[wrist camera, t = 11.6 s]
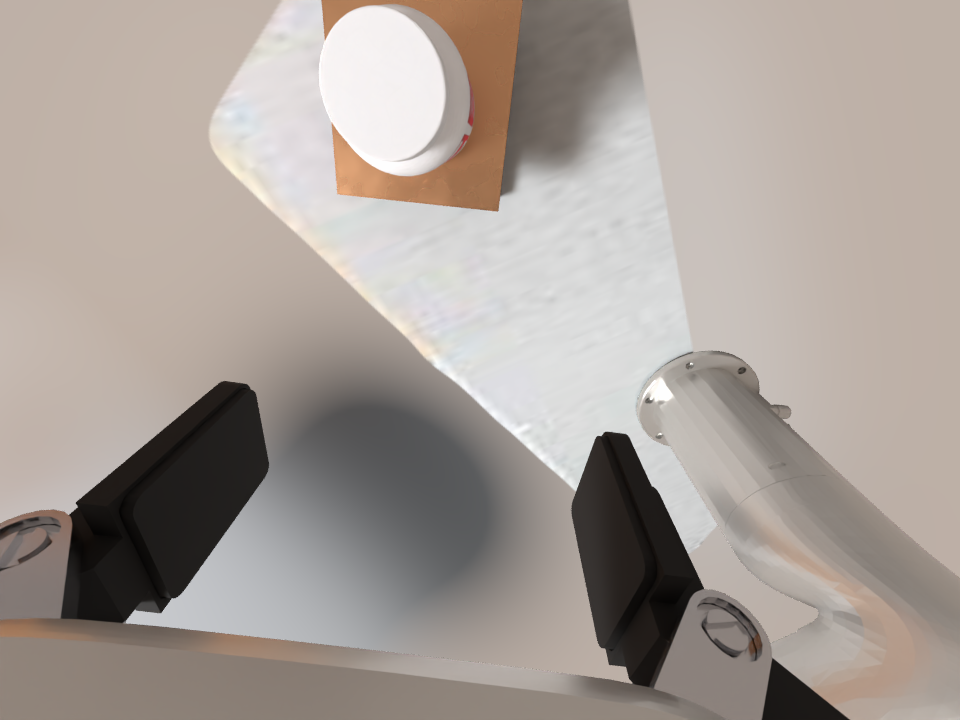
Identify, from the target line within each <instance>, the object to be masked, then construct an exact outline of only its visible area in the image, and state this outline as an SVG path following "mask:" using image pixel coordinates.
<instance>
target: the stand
mask: <svg viewBox="0 0 960 720" xmlns="http://www.w3.org/2000/svg"><path fill="white" fill-rule="evenodd" d="M522 2H523V0H322V10H323V22H324V34H325V40H326V38H327V36H328V34H329V32H330V30H331V29H332V28H333V26H334V25H335V24H336V23H337V22H338V21H339V20H340V19H341V18H342V17H343V16H344V15H345V14H347V13H348V12H350V11H352V10H354V9H357V8H360V7H364V6H368V5H384V4H398V5H404V6H408V7H411V8H413V9H416V10H418V11H420V12H422V13H424V14H425V15H427V16H428V17H430V18H431V19H433V20H434V21H435V22H436V23H437V24H438V25H440V26H441V27H442V29H443V30H444V31H445V32H446V33H447V34H448V36H449V37H450V38H451V40H452V41H453V43H454V44H455V46H456V48H457V50H458V51H459V53H460V55H461V58H462V60H463V63H464V65H465V68H466V71H467V73H468V77H469V80H470V83H471V86H472V90H473V95H474V102H475V116H474V123H473V127H472V131H471V134H470V136H469V138H468V140H467V142H466V144H465V146H464V147H463V148H462V150H461V151H460V152H459V153H458V154H457V155H456V156H455V157H454V158H452V159H451V160H449V161H447V162H446V163H444V164H443V165H441V166H440V167H438V168H436V169H434V170H432V171H430V172H427V173H425V174H422V175H415V176H397V175H393V174H389V173H386V172H383V171H381V170H379V169H377V168H375V167H373V166H372V165H370V164H369V163H367V162H366V161H365V160H363V159H362V158H361V157H360V156H359V155H358V154H357V153H356V152H355V151H354V150H353V149H352V148H351V146H350V145H349V144H348V142H347V141H346V140H345V139H344V138H343V137H342V136H341V134H340V133H339V132H338V131H337V129H336V128H335V126H334V125H333V123H332V132H333V144H334V157H335V169H336V181H337V193H338V194H340V195H350V196H359V197H368V198H378V199H387V200H396V201H405V202H415V203H424V204H433V205H443V206H452V207H461V208H471V209H480V210H489V211H498V209H499V201H500V192H501V183H502V175H503V166H504V157H505V149H506V140H507V132H508V123H509V114H510V106H511V97H512V89H513V80H514V71H515V63H516V54H517V45H518V37H519V28H520V20H521V11H522Z"/></svg>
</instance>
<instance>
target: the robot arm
mask: <svg viewBox="0 0 960 720" xmlns="http://www.w3.org/2000/svg"><path fill="white" fill-rule="evenodd" d="M790 415H791V409H790V408H789V407H788V406H784V405H770V403H768V402H767V401H766V400H765V399H764V398H763V397H762V396H761V395H760V394H759V382H758V378H757V376H756V374H755V372H754V371H753V370H752V368H751V367H750V366H749V365H748V364H746V363H745V362H744V361H743V360H742V359H740V358H738V357H736V356H734V355H732V354H729V353H725V352H720V351H701V352H696V353H691V354H687V355H685V356H682V357H680V358H677V359H675V360H673V361H671V362H670V363H668V364H666V365H664V366H663V367H662V368H661V369H659V370H658V371H657V372H655V373H654V374H653V376H652V377H651V378H650V379H649V380H648V381H647V382H646V384H645V385H644V387H643V388H642V390H641V393H640V395H639V397H638V402H637V416H638V420H639V422H640V424H641V426H642V428H643V430H644V431H645V432H646V433H647V435H648V436H649V437H650V438H652V439H653V440H654V441H656V442H659V443H661V444H663V445H667V446H670V447H671V449H672V450H673V452H674V454H675V455H676V457H677V459H678V460H679V462H680V464H681V465H682V467H683V469H684V470H685V472H686V474H687V475H688V477H689V478H690V480H691V482H692V483H693V485H694V487H695V488H696V490H697V492H698V493H699V495H700V497H701V498H702V500H703V502H704V503H705V505H706V507H707V508H708V510H709V512H710V513H711V515H712V517H713V518H714V520H715V522H716V523H717V525H718V527H719V528H720V530H721V531H722V533H723V535H724V536H725V538H726V540H727V541H728V543H729V544H730V546H731V548H732V549H733V551H734V553H735V554H736V556H737V557H738V559H739V560H740V561H741V563H742V564H743V565H744V566H745V567H746V568H747V569H748V571H750V572H751V573H752V574H753V575H754V576H755V577H756V578H758V579H759V580H760V581H762V582H763V583H765V584H766V585H768V586H769V587H771V588H773V589H775V590H776V591H779V592H780V593H782V594H785V595H787V596H789V597H791V598H793V599H795V600H798V601H800V602H802V603H805V604H807V605H809V606H812V607H814V608H816V609H818V612H819V615H818V617H817V618H816V619H815V620H814V621H813V622H812V623H809V624H808V625H806V626H804V627H802V628H800V629H798V630H797V632H795V633H793V634H790V635H788V636H786V637H784V638H781V639H779V640H777V641H775V642H772V643H770V642H769V639H768V636H767V634H766V633H765V631H764V629H763V628H762V626H761V625H760V623H759V621H758V620H757V619H756V618H755V617H754V616H753V615H752V614H751V612H750V611H749V610H748V609H746V608H745V607H744V606H743V605H742V604H740V603H739V602H738V601H737V600H735V599H733V598H731V597H730V596H728V595H726V594H724V593H721V592H718V591H715V590H706V589H704V587H703V586H702V583H701V581H700V579H699V577H698V575H697V572H696V570H695V568H694V566H693V564H692V562H691V560H690V558H689V556H688V553H687V551H686V549H685V547H684V545H683V543H682V541H681V539H680V536H679V534H678V532H677V530H676V528H675V526H674V524H673V522H672V519H671V517H670V515H669V513H668V511H667V509H666V507H665V505H664V503H663V500H662V498H661V496H660V494H659V493H658V491H657V489H655V488H654V487H652V486H651V484H650V482H649V480H648V477H647V475H646V473H645V471H644V469H643V467H642V464H641V462H640V460H639V458H638V456H637V453H636V451H635V449H634V447H633V445H632V443H631V440H630V438H629V437H628V435H626V434H621V433H613V432H605V433H604V434H603V435H602V436H597V437H596V439H595V441H594V444H593V447H592V450H591V452H590V455H589V458H588V461H587V463H586V466H585V469H584V472H583V474H582V477H581V480H580V483H579V485H578V488H577V491H576V494H575V497H574V499H573V502H572V519H573V523H574V528H575V533H576V537H577V543H578V548H579V553H580V558H581V563H582V568H583V573H584V577H585V582H586V587H587V592H588V597H589V602H590V607H591V612H592V617H593V621H594V627H595V632H596V637H597V641H598V644H599V646H600V647H601V648H605V649H606V653H607V657H608V662H609V665H615V666H624V667H626V668H627V672H628V676H629V679H630V680H631V681H632V682H633V683H632V684H629V683H624V682H619V681H614V680H609V679H602V678H594V677H587V676H580V675H573V674H566V673H558V672H551V671H544V670H537V669H528V668H520V667H512V666H504V665H495V664H486V663H479V662H470V661H461V660H453V659H445V658H437V657H428V656H420V655H411V654H402V653H394V652H385V651H376V650H367V649H359V648H350V647H341V646H332V645H324V644H315V643H306V642H297V641H288V640H279V639H270V638H260V637H251V636H243V635H233V634H224V633H215V632H205V631H196V630H186V629H178V628H169V627H159V626H148V625H137V624H126V620H127V618H128V617H129V616H130V615H131V614H132V612H133V611H134V610H135V609H136V610H137V611H145V612H154V613H162V611H163V610H164V608H165V607H166V606H167V604H168V603H169V602H170V600H171V598H176V597H178V596H179V595H180V594H181V593H182V592H183V591H184V590H185V588H186V587H187V586H188V584H189V583H190V581H191V580H192V579H193V577H194V576H195V574H196V573H197V572H198V570H199V569H200V567H201V566H202V565H203V563H204V561H205V560H206V559H207V557H208V556H209V555H210V553H211V552H212V550H213V549H214V548H215V546H216V545H217V544H218V542H219V541H220V539H221V538H222V536H223V535H224V533H225V532H226V531H227V530H228V528H229V527H230V525H231V524H232V522H233V521H234V520H235V518H236V517H237V516H238V514H239V513H240V511H241V510H242V508H243V507H244V506H245V504H246V503H247V502H248V500H249V499H250V497H251V496H252V495H253V493H254V492H255V490H256V489H257V487H258V486H259V485H260V483H261V482H262V481H263V479H264V478H265V476H266V474H267V472H268V468H269V462H268V457H267V451H266V445H265V440H264V435H263V429H262V424H261V418H260V413H259V408H258V402H257V397H256V394H255V392H254V391H253V390H251V389H250V387H249V386H248V385H247V384H243V383H235V382H228V381H223V382H221V383H219V384H218V385H217V386H215V387H214V388H213V389H212V390H210V391H209V392H208V393H207V394H205V395H204V396H203V397H202V398H201V399H200V400H198V401H197V402H196V403H195V404H193V405H192V406H191V407H190V408H189V409H188V410H186V411H185V412H184V413H183V414H181V416H179V417H178V418H177V419H176V420H174V421H173V422H172V423H171V424H169V426H167V427H166V428H165V429H163V430H162V431H161V432H160V433H159V434H157V435H156V436H155V437H154V438H153V439H151V440H150V441H149V442H148V443H147V444H145V445H144V446H143V447H142V448H141V449H139V450H138V451H137V452H136V453H135V454H133V455H132V456H131V457H130V458H129V459H127V460H126V461H125V462H124V463H123V464H121V466H119V467H118V468H117V469H115V470H114V471H113V472H112V473H111V474H109V475H108V476H107V477H106V478H105V479H103V480H102V481H101V482H100V483H99V484H97V485H96V486H95V487H94V488H93V489H91V490H90V491H89V492H88V493H87V494H85V495H84V496H83V497H82V498H81V499H79V500H78V501H77V502H76V504H77V506H78V508H76V510H74V511H73V512H72V513H71V514H70V515H68V514H66V513H65V512H62V511H57V510H40V511H35V512H31V513H26V514H23V515H20V516H17V517H14V518H12V519H9V520H6V521H4V522H2V523H0V720H960V578H959V577H958V576H957V575H955V574H954V573H953V572H951V571H950V570H949V569H948V568H947V567H945V566H944V565H943V564H942V563H940V562H939V561H938V560H937V559H935V558H934V557H933V556H932V555H930V554H929V553H928V552H927V551H925V550H924V549H923V548H922V547H921V546H919V544H917V543H916V542H915V541H914V540H913V539H912V538H911V537H909V536H908V535H907V534H906V533H905V532H904V531H902V530H901V529H900V528H899V527H898V526H897V525H896V524H894V523H893V522H892V521H891V520H890V519H889V518H888V517H887V516H885V515H884V514H883V513H882V512H881V511H880V510H879V509H878V508H877V507H876V506H875V505H873V504H872V503H871V502H870V501H869V500H868V499H867V498H866V497H865V496H864V495H863V494H862V493H861V492H860V491H858V490H857V489H856V488H855V487H854V486H853V485H852V484H851V483H849V482H848V481H847V480H846V479H845V478H844V477H843V476H842V475H841V474H840V473H839V472H838V471H837V470H835V468H833V467H832V466H831V465H830V464H829V463H828V462H827V461H826V460H825V459H824V458H823V457H822V456H821V455H820V454H819V453H817V452H816V451H815V450H814V449H813V448H812V447H811V446H810V445H809V444H808V443H807V442H806V441H805V440H804V439H803V438H801V437H800V436H799V435H798V434H797V433H796V432H795V431H794V430H793V429H792V428H791V427H790V425H789V424H787V423H785V422H784V421H783V420H782V419H781V418H783V419H787V418H789V417H790Z"/></svg>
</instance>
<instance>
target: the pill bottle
mask: <svg viewBox="0 0 960 720" xmlns="http://www.w3.org/2000/svg"><path fill="white" fill-rule="evenodd" d="M319 83H320V90H321V95H322V99H323V102H324V105H325V108H326V111H327V113H328V115H329V117H330V119H331V121H332V123H333V125H334V126H335V128H336V129H337V131H338V132H339V133H340V134H341V136H342V137H343V138H344V139H345V140H346V141H347V142H348V144H349V145H350V146H351V148H352V149H353V150H354V151H355V152H356V153H357V154H358V155H359V156H360V157H361V158H362V159H363V160H365V161H366V162H367V163H369V164H370V165H372V166H373V167H375V168H377V169H379V170H381V171H383V172H386V173H389V174H393V175H397V176H415V175H422V174H425V173H427V172H430V171H432V170H434V169H436V168H438V167H440V166H441V165H443V164H444V163H446V162H447V161H449V160H451V159H452V158H454V157H455V156H456V155H457V154H458V153H459V152H460V151H461V150H462V148H463V147H464V146H465V144H466V142H467V140H468V138H469V136H470V134H471V131H472V127H473V123H474V116H475V102H474V95H473V90H472V86H471V83H470V80H469V77H468V73H467V71H466V68H465V65H464V63H463V60H462V58H461V55H460V53H459V51H458V50H457V48H456V46H455V44H454V43H453V41H452V40H451V38H450V37H449V36H448V34H447V33H446V32H445V31H444V30H443V29H442V27H441V26H440V25H438V24H437V23H436V22H435V21H434V20H433V19H431V18H430V17H428V16H427V15H425V14H424V13H422V12H420V11H418V10H416V9H413V8H411V7H408V6H404V5H398V4H384V5H368V6H364V7H360V8H357V9H354V10H352V11H350V12H348V13H347V14H345V15H344V16H343V17H342V18H341V19H340V20H339V21H338V22H337V23H336V24H335V25H334V26H333V28H332V29H331V30H330V32H329V34H328V36H327V38H326V40H325V42H324V45H323V49H322V52H321V57H320V65H319Z"/></svg>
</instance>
